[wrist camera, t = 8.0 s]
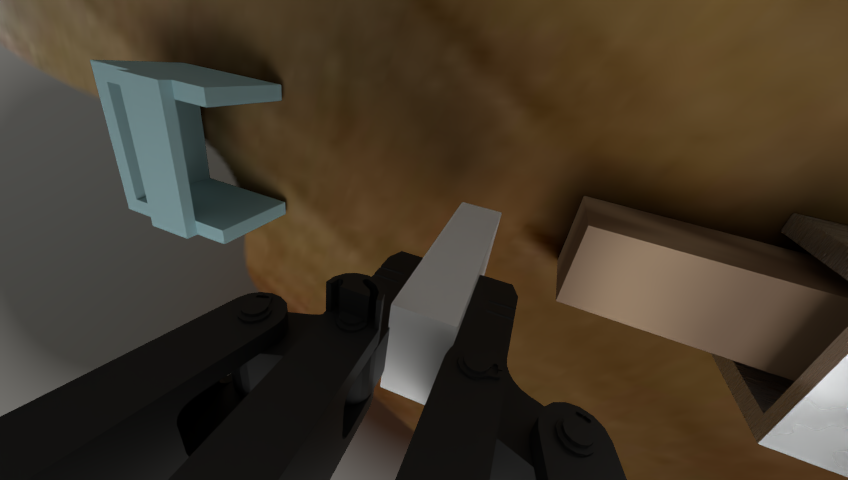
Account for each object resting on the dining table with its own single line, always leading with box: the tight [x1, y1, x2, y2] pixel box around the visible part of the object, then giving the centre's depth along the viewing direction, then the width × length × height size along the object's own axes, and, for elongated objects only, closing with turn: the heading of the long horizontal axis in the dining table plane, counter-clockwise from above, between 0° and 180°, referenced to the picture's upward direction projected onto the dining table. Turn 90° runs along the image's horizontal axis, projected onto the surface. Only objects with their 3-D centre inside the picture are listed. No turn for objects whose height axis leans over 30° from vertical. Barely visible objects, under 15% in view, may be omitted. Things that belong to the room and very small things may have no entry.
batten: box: [556, 196, 848, 381], centre depth 14 cm, size 12×4×4 cm, turn 80°
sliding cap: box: [90, 60, 286, 244], centre depth 19 cm, size 7×8×5 cm
